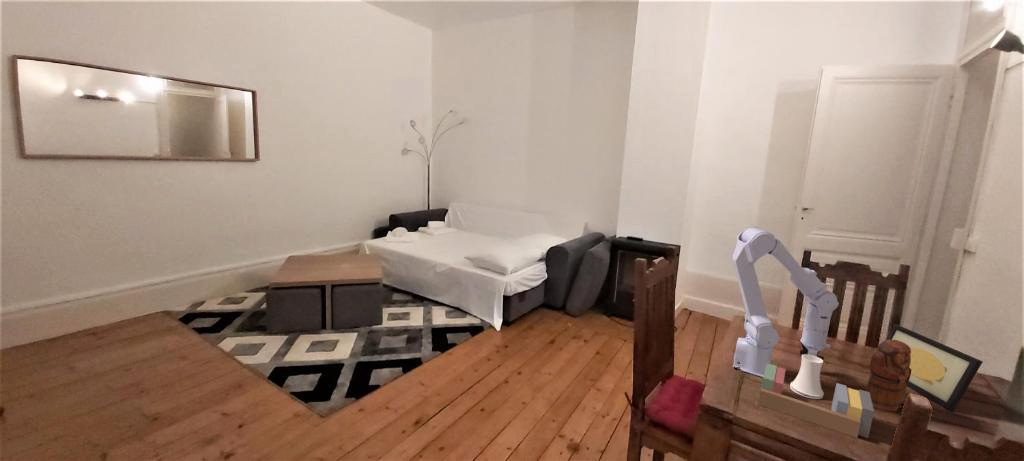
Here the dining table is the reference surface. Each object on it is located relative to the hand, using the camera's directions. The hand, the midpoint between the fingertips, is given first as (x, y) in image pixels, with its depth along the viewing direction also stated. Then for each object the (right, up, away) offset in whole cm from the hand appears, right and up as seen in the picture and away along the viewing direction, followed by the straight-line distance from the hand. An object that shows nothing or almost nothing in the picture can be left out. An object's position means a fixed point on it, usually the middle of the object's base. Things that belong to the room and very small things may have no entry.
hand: (807, 370), depth 120 cm
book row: (-12, -5, -17) cm, 21 cm away
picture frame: (+31, -4, -3) cm, 31 cm away
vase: (-6, -3, -8) cm, 11 cm away
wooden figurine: (+11, -5, -12) cm, 18 cm away
